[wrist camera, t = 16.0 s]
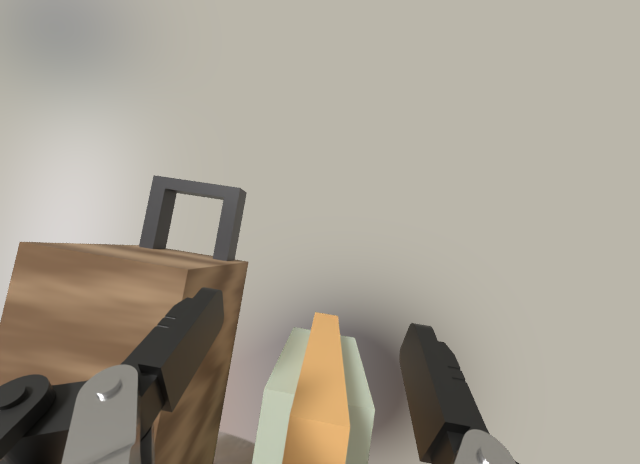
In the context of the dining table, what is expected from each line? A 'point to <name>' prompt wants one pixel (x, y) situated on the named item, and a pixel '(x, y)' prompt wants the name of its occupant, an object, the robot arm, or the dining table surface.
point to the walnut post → (119, 325)
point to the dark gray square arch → (168, 187)
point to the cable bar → (320, 400)
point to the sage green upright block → (283, 392)
